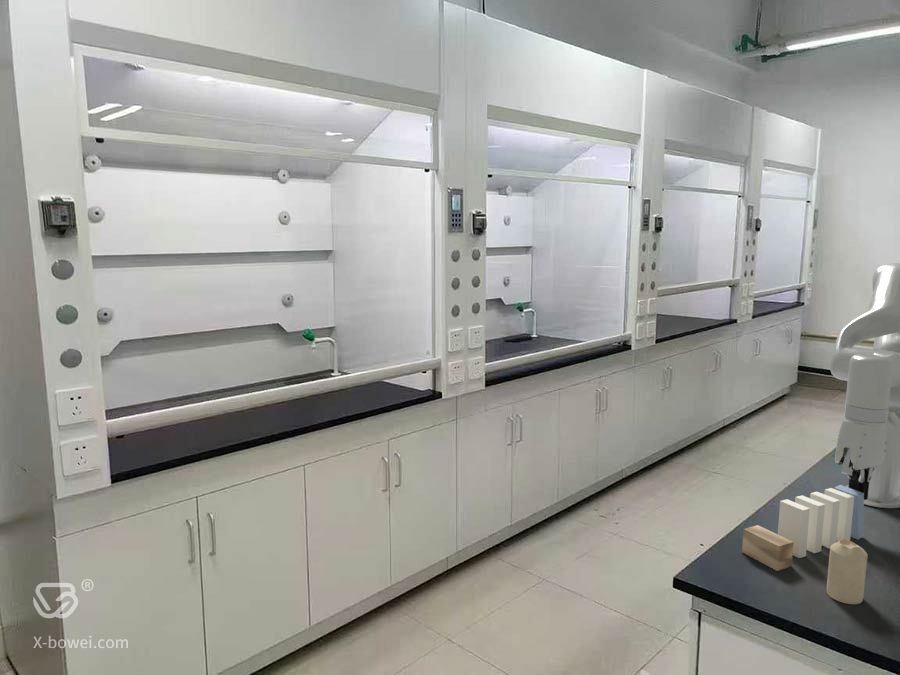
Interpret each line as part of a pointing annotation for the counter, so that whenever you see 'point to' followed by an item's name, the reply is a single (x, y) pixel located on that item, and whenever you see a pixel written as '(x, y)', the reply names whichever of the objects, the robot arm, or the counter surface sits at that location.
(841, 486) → the domino
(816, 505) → the domino
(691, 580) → the counter surface
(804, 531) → the domino
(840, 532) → the domino
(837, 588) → the candle
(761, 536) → the end block
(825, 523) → the domino
